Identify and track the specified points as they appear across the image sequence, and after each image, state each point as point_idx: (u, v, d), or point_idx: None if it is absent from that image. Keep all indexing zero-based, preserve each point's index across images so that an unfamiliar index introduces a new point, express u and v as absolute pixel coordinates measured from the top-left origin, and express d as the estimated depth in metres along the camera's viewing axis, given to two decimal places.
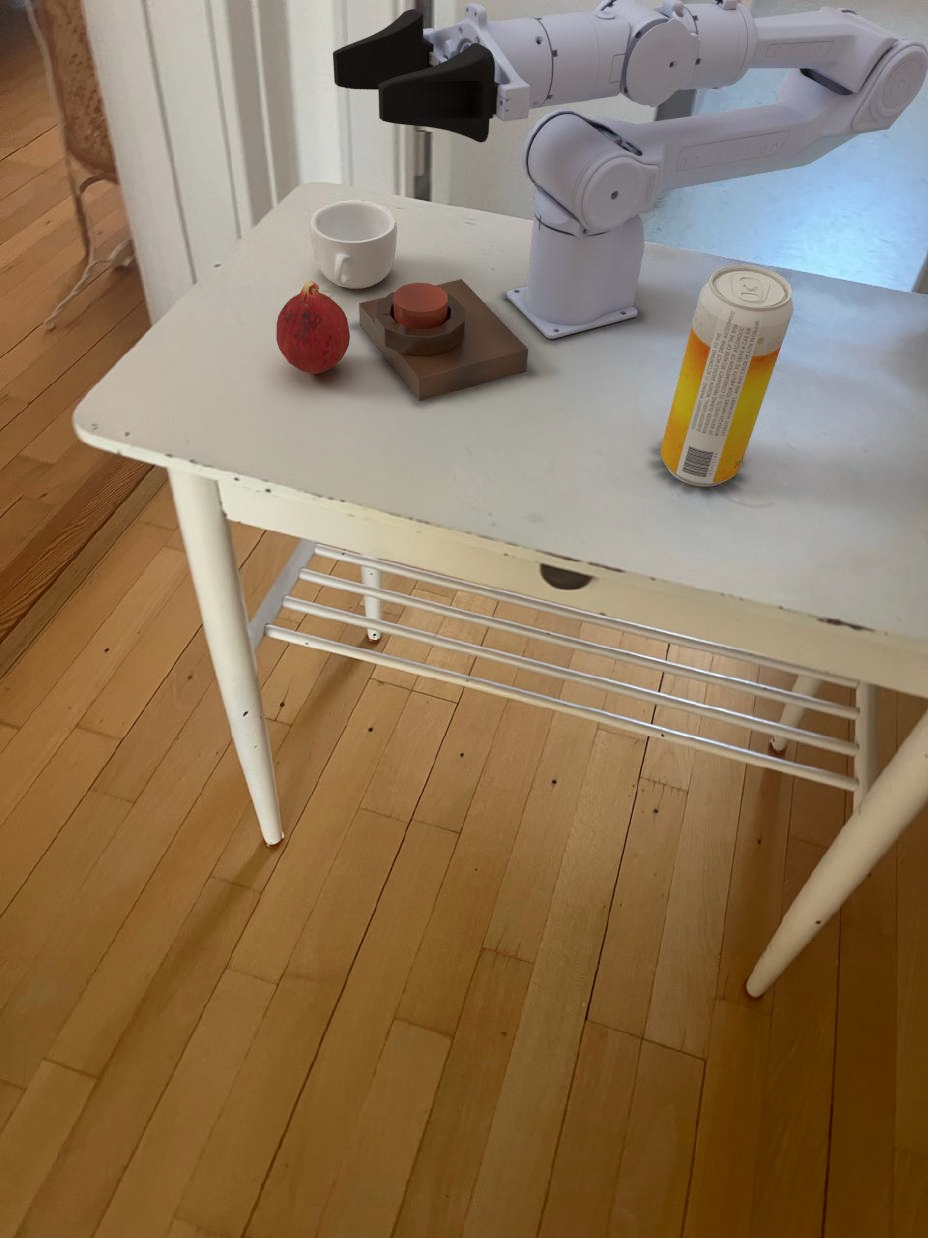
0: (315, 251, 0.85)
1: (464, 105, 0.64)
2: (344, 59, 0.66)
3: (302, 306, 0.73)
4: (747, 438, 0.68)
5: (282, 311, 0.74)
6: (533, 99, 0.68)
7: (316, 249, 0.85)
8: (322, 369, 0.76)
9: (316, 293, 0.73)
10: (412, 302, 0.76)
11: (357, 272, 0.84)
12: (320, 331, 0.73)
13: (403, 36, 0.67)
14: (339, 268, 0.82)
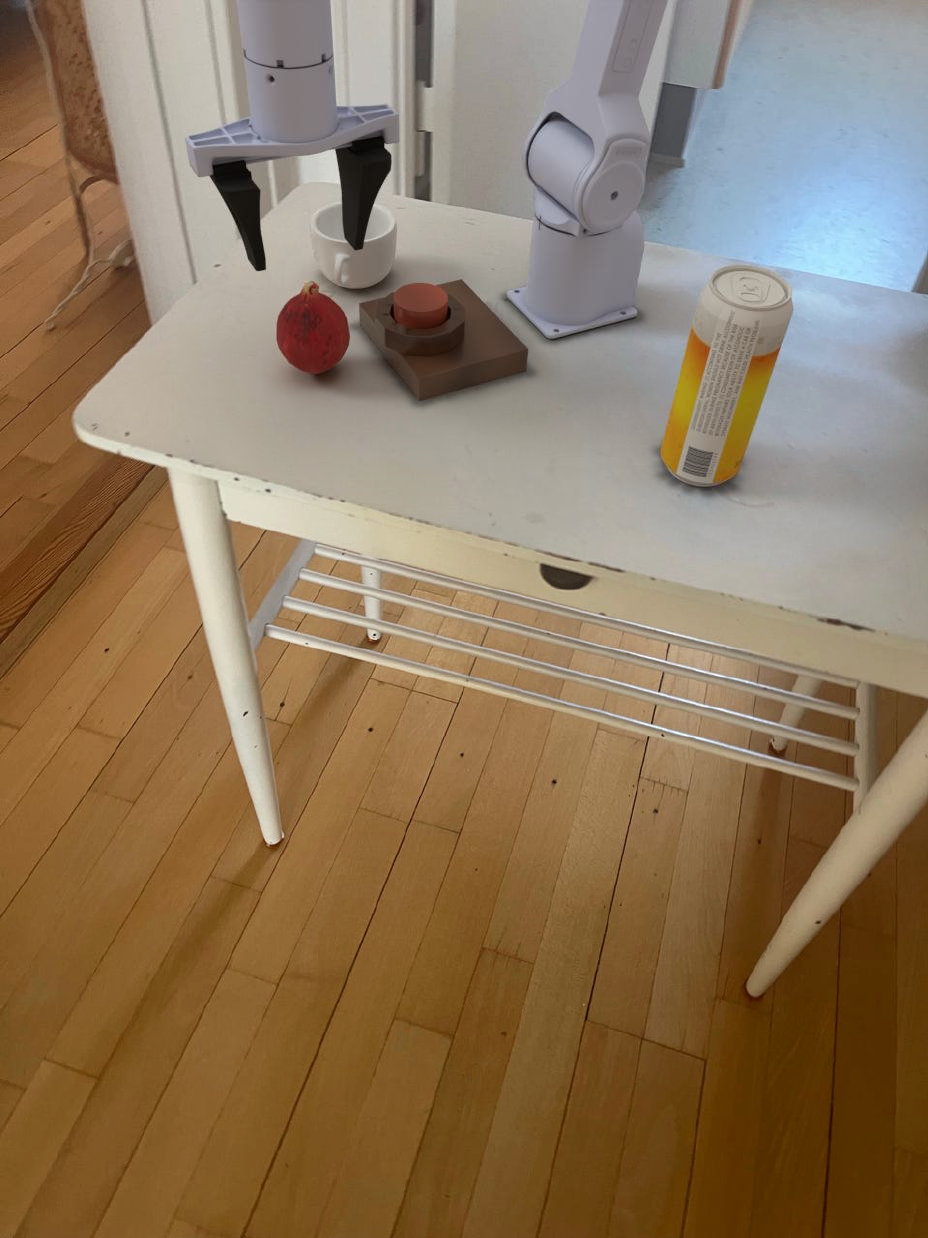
0: (315, 251, 0.85)
1: None
2: (346, 233, 0.72)
3: (302, 306, 0.73)
4: (747, 438, 0.68)
5: (282, 311, 0.74)
6: (263, 84, 0.60)
7: (316, 249, 0.85)
8: (322, 369, 0.76)
9: (316, 293, 0.73)
10: (412, 302, 0.76)
11: (357, 272, 0.84)
12: (320, 331, 0.73)
13: (340, 166, 0.69)
14: (339, 268, 0.82)
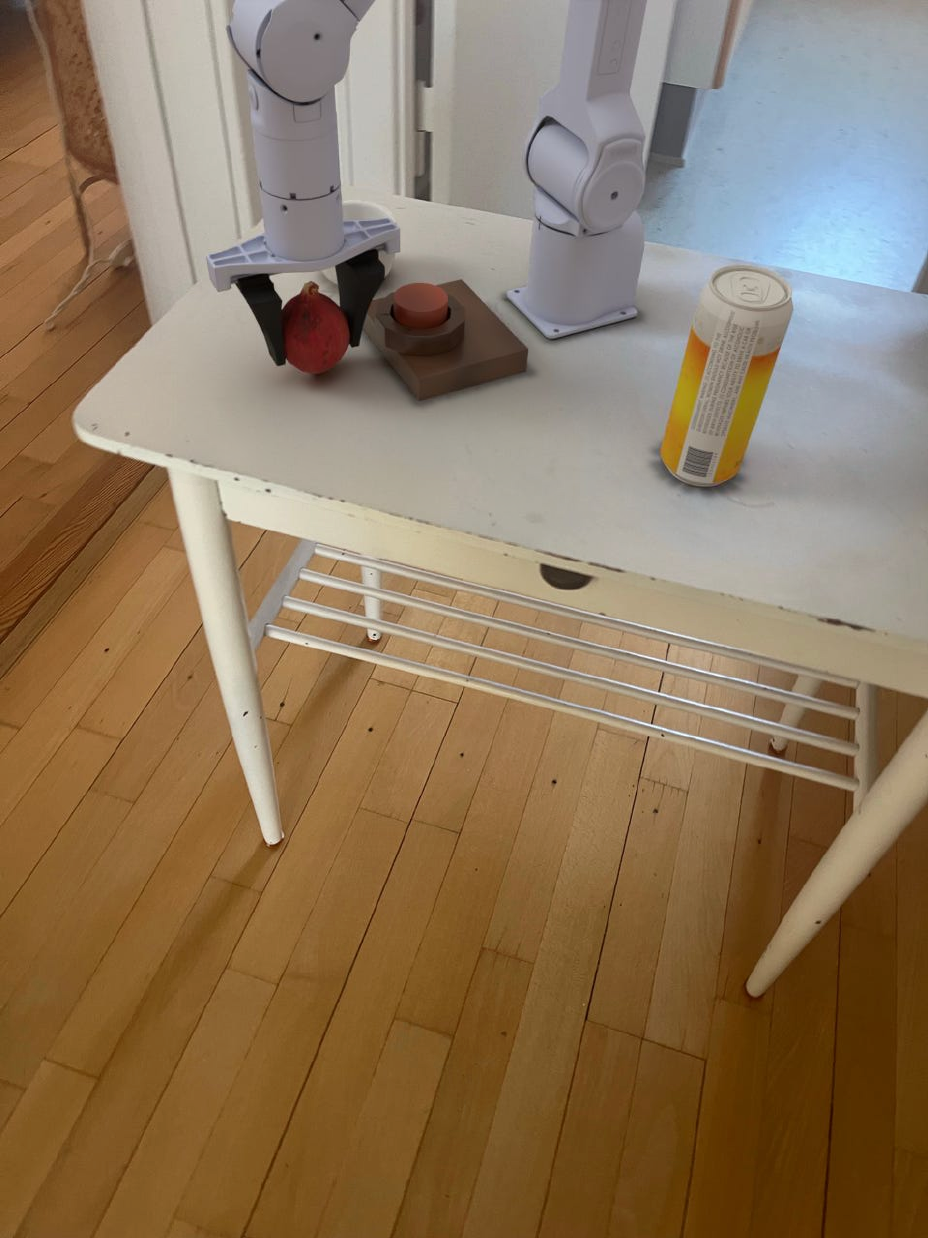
0: None
1: None
2: None
3: (302, 307, 0.73)
4: (747, 438, 0.68)
5: (282, 311, 0.74)
6: (277, 212, 0.66)
7: None
8: (322, 369, 0.76)
9: (316, 293, 0.73)
10: (412, 302, 0.76)
11: None
12: (320, 331, 0.73)
13: (337, 273, 0.75)
14: None
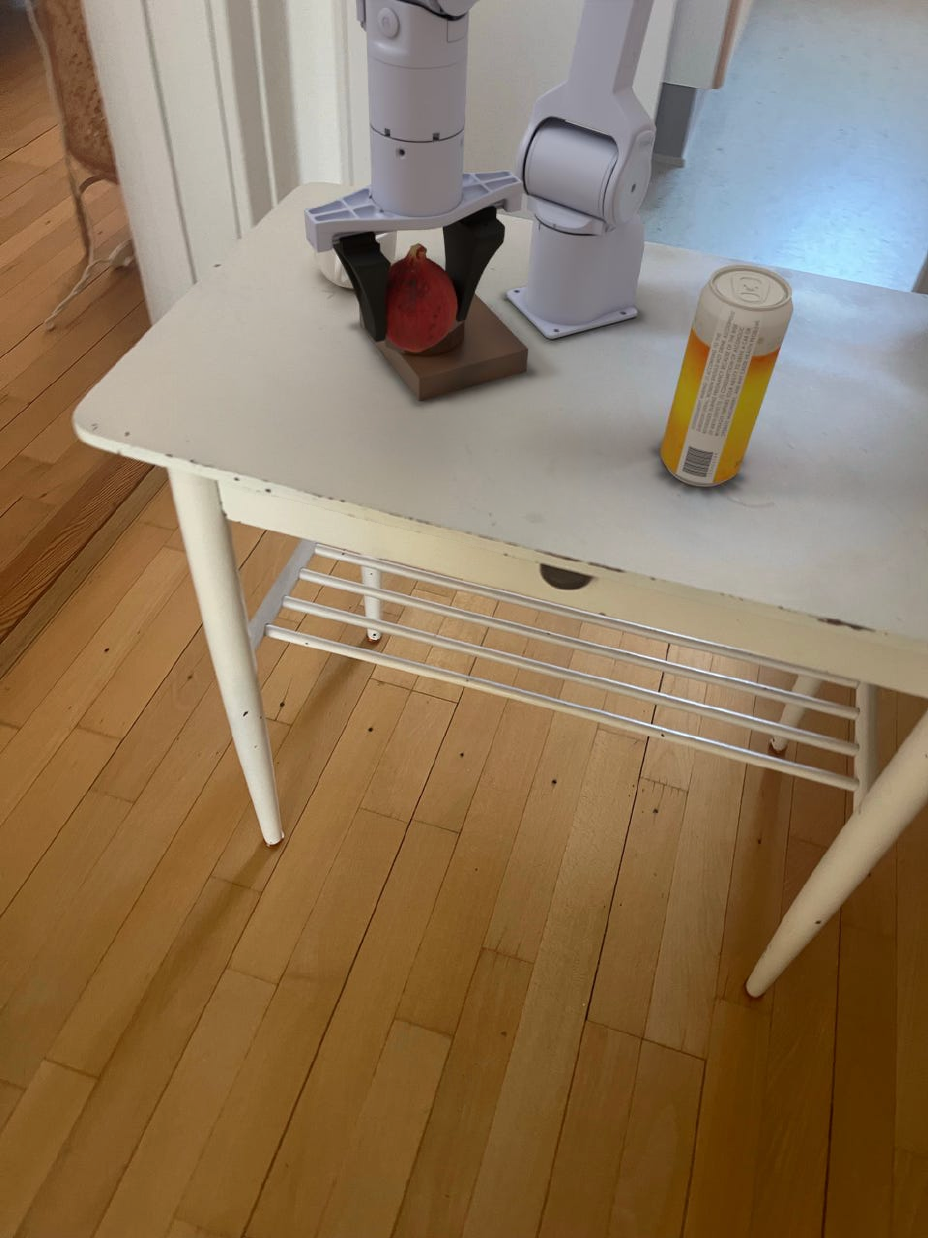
0: (315, 251, 0.85)
1: None
2: None
3: (408, 273, 0.63)
4: (747, 438, 0.68)
5: None
6: (392, 158, 0.56)
7: None
8: (426, 346, 0.66)
9: (424, 257, 0.63)
10: None
11: None
12: (428, 301, 0.63)
13: (446, 235, 0.65)
14: (339, 268, 0.82)
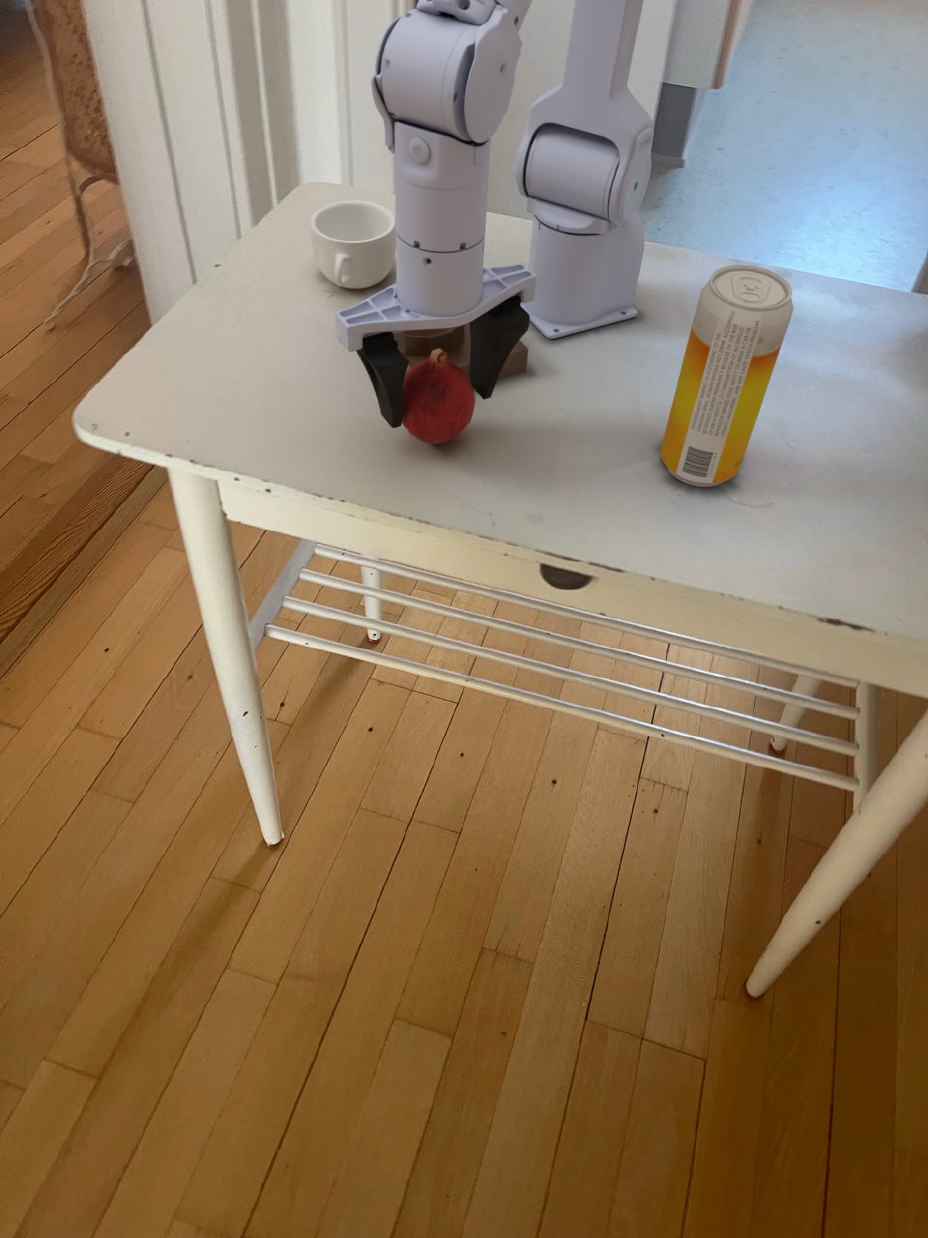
0: (315, 251, 0.85)
1: None
2: (473, 381, 0.72)
3: (431, 376, 0.67)
4: (747, 438, 0.68)
5: (406, 380, 0.69)
6: (419, 266, 0.60)
7: (316, 249, 0.85)
8: (447, 440, 0.71)
9: (444, 361, 0.68)
10: None
11: (357, 272, 0.84)
12: (449, 402, 0.68)
13: (472, 320, 0.69)
14: (339, 268, 0.82)
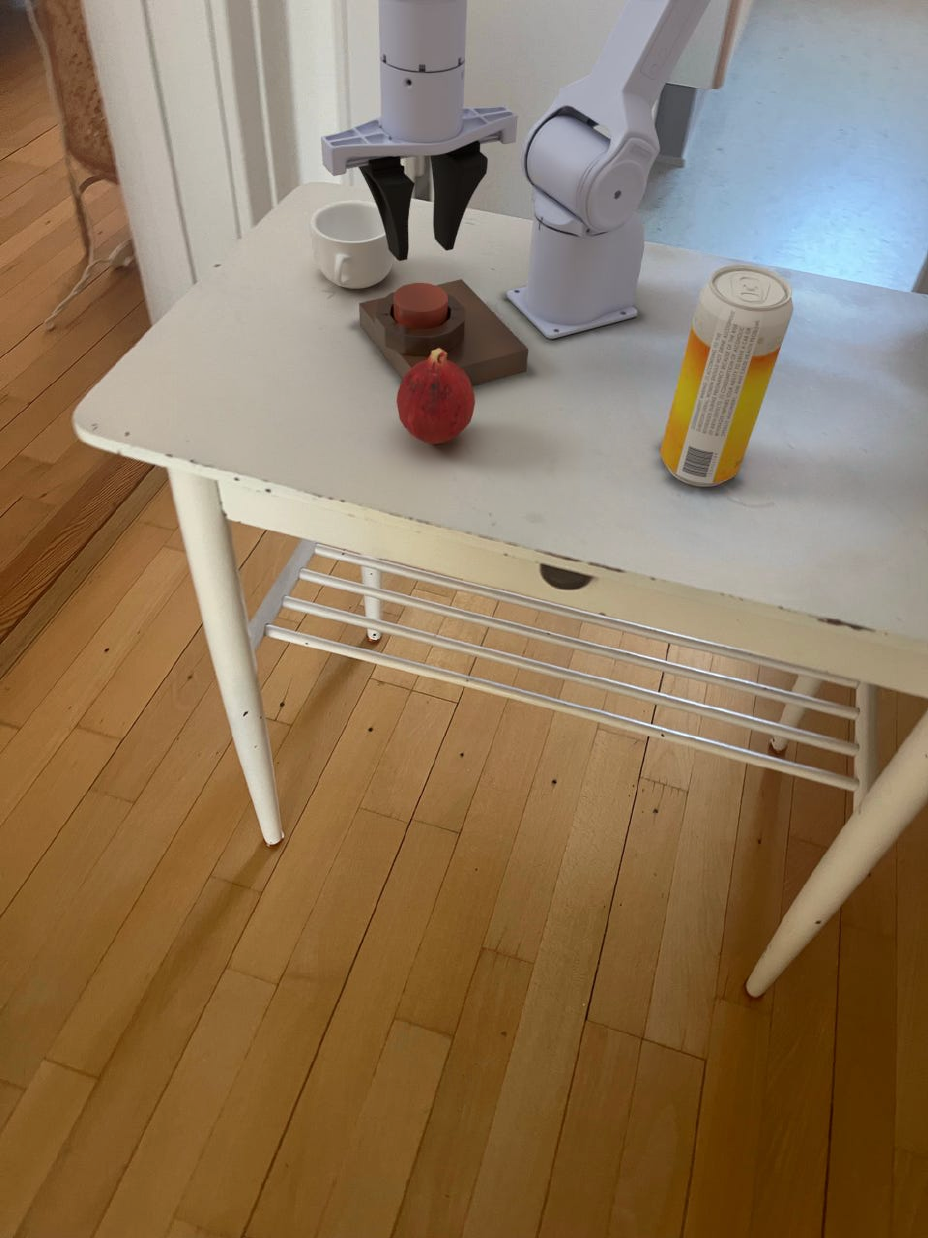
0: (315, 251, 0.85)
1: None
2: (436, 234, 0.74)
3: (431, 376, 0.67)
4: (747, 438, 0.68)
5: (406, 380, 0.69)
6: (400, 88, 0.63)
7: (316, 249, 0.85)
8: (447, 440, 0.71)
9: (444, 361, 0.68)
10: (412, 302, 0.76)
11: (357, 272, 0.84)
12: (449, 402, 0.68)
13: (434, 169, 0.71)
14: (339, 268, 0.82)
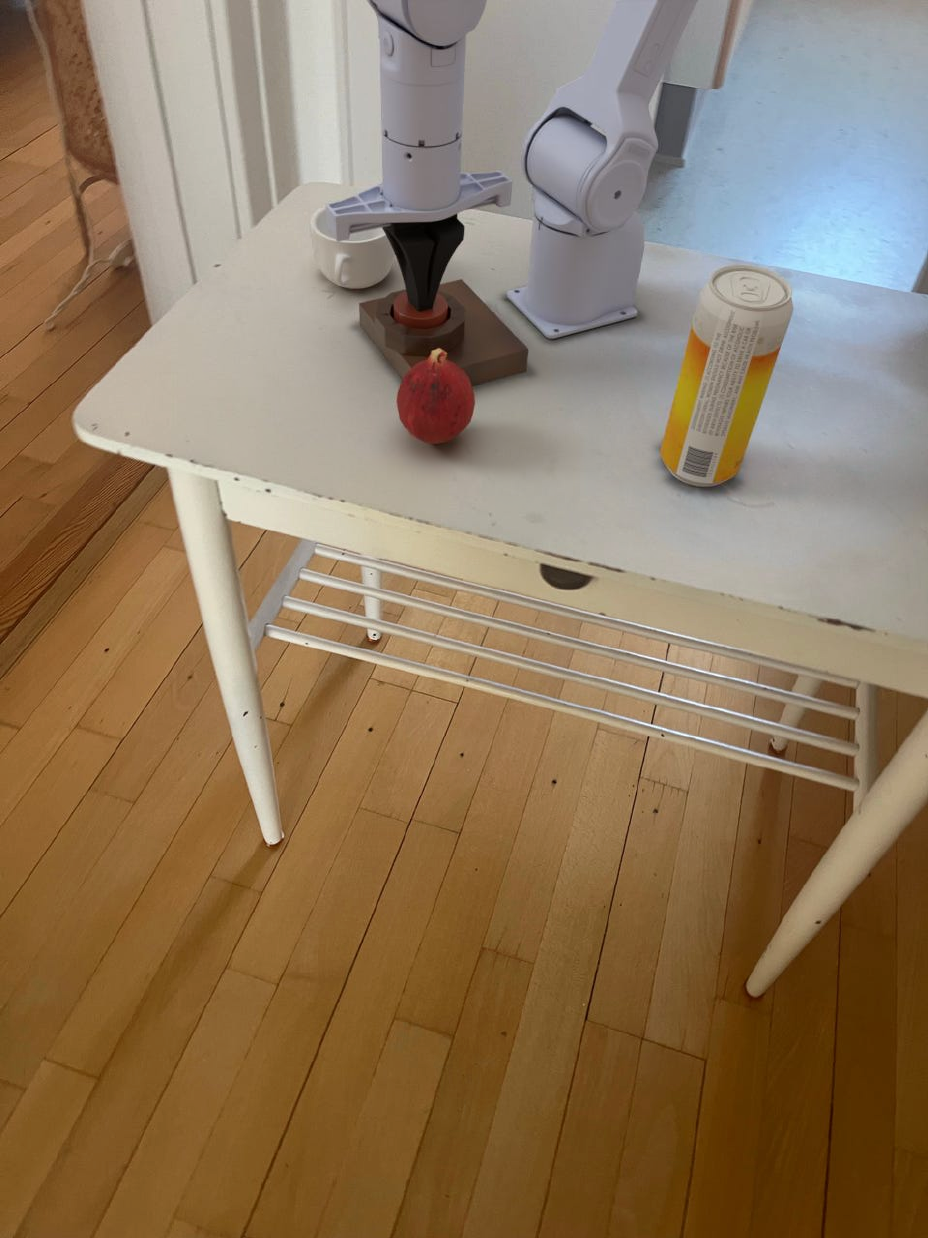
0: (315, 251, 0.85)
1: None
2: None
3: (431, 376, 0.67)
4: (747, 438, 0.68)
5: (406, 380, 0.69)
6: (401, 160, 0.66)
7: (316, 249, 0.85)
8: (447, 440, 0.71)
9: (444, 361, 0.68)
10: (412, 310, 0.77)
11: (357, 272, 0.84)
12: (449, 402, 0.68)
13: None
14: (339, 268, 0.82)
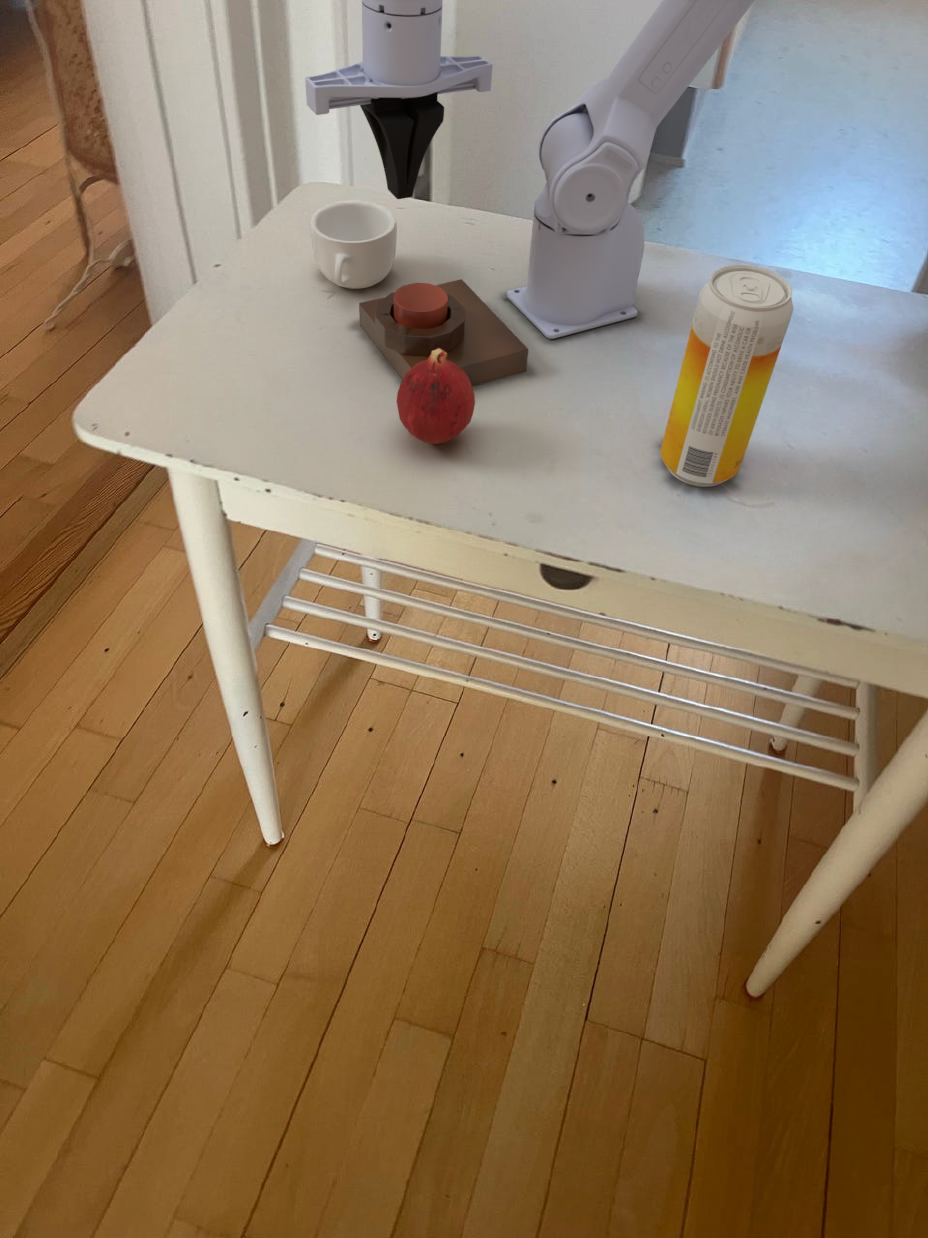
0: (315, 251, 0.85)
1: None
2: None
3: (431, 376, 0.67)
4: (747, 438, 0.68)
5: (406, 380, 0.69)
6: (380, 31, 0.67)
7: (316, 249, 0.85)
8: (447, 440, 0.71)
9: (444, 361, 0.68)
10: (412, 302, 0.76)
11: (357, 272, 0.84)
12: (449, 402, 0.68)
13: None
14: (339, 268, 0.82)
